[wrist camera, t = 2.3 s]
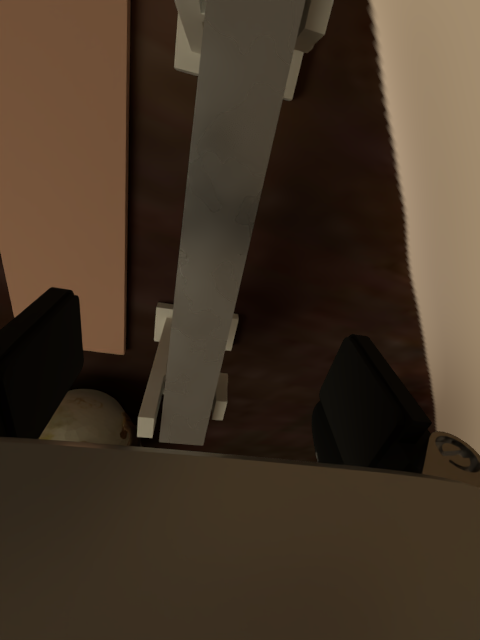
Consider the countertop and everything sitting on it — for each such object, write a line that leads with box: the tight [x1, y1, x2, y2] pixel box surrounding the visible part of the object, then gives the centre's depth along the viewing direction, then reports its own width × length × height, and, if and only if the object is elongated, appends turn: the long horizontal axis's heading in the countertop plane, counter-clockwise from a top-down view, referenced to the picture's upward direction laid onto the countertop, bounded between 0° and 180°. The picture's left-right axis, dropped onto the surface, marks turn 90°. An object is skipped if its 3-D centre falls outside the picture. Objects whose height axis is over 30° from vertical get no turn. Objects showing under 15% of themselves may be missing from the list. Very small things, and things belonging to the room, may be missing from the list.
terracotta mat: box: [0, 0, 131, 355], centre depth 23 cm, size 31×10×1 cm, turn 168°
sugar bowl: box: [39, 389, 142, 447], centre depth 30 cm, size 20×15×15 cm
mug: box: [312, 401, 344, 465], centre depth 36 cm, size 12×9×10 cm
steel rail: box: [159, 0, 305, 446], centre depth 16 cm, size 27×3×3 cm, turn 168°
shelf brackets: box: [137, 0, 334, 438], centre depth 20 cm, size 26×8×13 cm, turn 168°
